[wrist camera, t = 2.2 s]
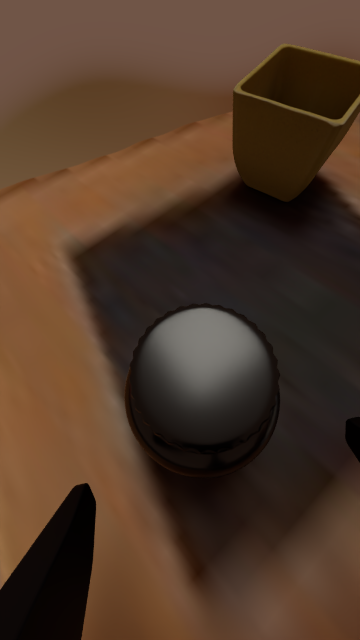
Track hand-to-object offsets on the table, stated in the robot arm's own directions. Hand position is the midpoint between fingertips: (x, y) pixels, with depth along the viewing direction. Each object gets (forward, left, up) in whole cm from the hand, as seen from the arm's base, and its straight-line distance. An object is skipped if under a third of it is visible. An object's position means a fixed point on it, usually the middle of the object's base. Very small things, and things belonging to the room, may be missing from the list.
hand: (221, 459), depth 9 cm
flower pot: (+27, -1, -10) cm, 29 cm away
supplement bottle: (+2, +1, -10) cm, 11 cm away
